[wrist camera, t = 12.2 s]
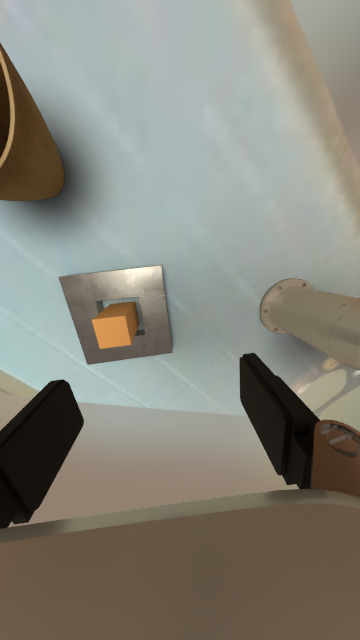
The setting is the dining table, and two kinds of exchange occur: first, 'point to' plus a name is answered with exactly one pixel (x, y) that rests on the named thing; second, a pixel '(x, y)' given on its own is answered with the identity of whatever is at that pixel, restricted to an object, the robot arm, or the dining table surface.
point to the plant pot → (25, 143)
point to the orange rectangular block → (116, 325)
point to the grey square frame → (96, 287)
